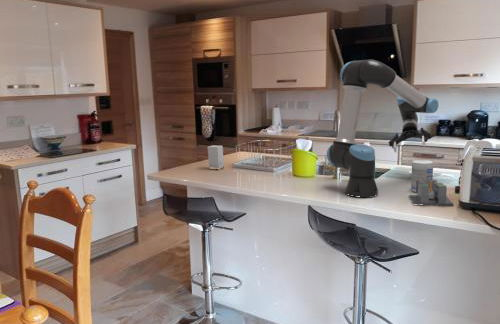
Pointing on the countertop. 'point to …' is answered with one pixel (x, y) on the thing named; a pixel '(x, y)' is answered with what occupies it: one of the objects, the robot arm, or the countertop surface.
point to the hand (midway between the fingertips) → (409, 147)
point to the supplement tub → (421, 171)
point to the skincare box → (215, 156)
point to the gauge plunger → (430, 183)
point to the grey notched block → (439, 195)
